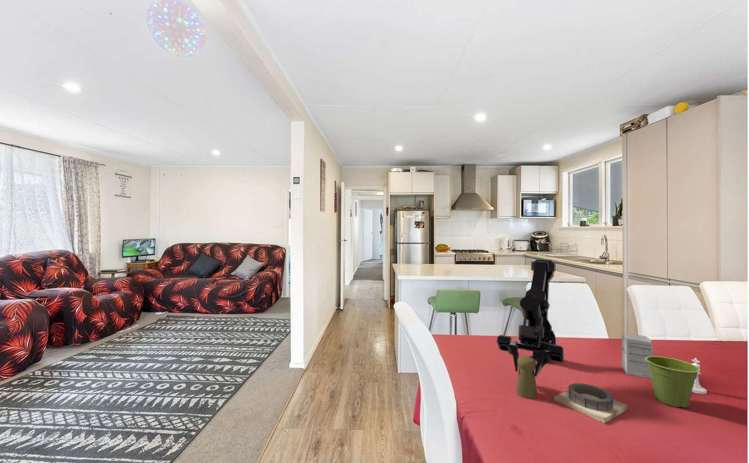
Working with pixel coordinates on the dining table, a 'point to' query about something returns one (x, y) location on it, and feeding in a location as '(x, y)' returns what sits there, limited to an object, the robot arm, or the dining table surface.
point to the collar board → (589, 411)
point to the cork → (526, 378)
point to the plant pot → (672, 380)
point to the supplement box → (636, 354)
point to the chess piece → (696, 386)
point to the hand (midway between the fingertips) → (525, 373)
